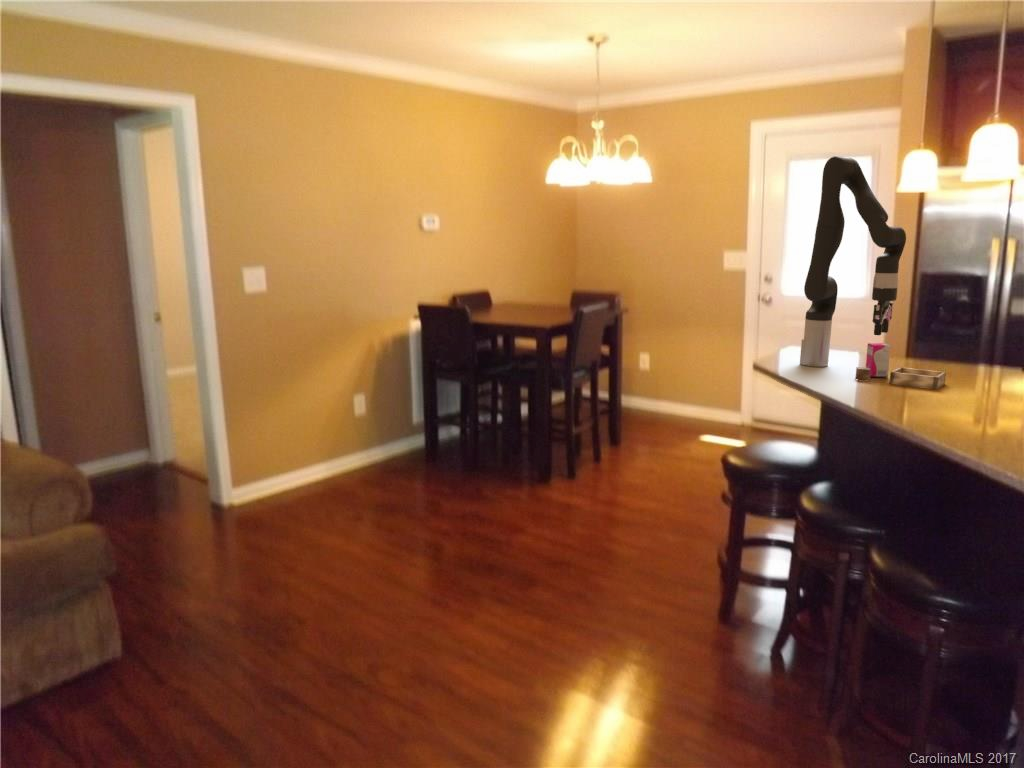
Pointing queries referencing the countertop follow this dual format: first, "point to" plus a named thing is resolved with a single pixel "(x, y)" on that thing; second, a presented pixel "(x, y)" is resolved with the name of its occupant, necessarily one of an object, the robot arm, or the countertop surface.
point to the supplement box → (878, 359)
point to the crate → (917, 378)
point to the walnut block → (862, 373)
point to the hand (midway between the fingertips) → (880, 333)
